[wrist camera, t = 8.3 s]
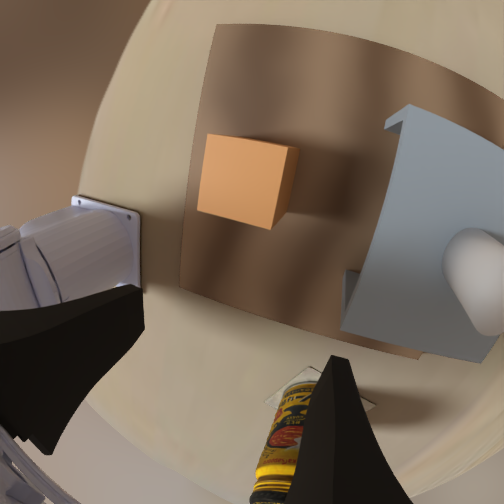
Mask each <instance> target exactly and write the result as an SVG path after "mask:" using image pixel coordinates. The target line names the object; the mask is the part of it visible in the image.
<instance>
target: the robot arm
mask: <svg viewBox="0 0 504 504" xmlns="http://www.w3.org/2000/svg"><path fill="white" fill-rule="evenodd" d="M130 216H131V218H130ZM114 286H117V287H115V288H113V287H114ZM111 288H112V289H111ZM144 330H145V325H144V310H143V289H142V288H140V216H139V214H138V213H137V212H134V211H131V210H127V209H124V208H120V207H117V206H113V205H109V204H106V203H102V202H99V201H95V200H92V199H88V198H85V197H81V196H77V195H75V196H73V197H72V206H69V207H66V208H63V209H60V210H57V211H54V212H51V213H49V214H46V215H43V216H40V217H38V218H35V219H32V220H30V221H28V222H26V223H25V224H24V225H23V226H22V227H21V228H20V229H15V227H13V226H12V225H8V226H4V227H1V228H0V504H46V503H45V502H44V500H45V496H46V497H47V498H49V499H50V500H51V501H52V502H53V503H54V504H81V503H79V502H78V501H77V500H75V499H74V498H73V497H71V496H70V495H69V494H68V493H67V492H66V491H64V490H63V489H62V488H61V487H60V486H59V485H57V484H56V483H55V482H54V481H53V480H52V479H51V478H50V477H49V476H47V475H46V474H45V473H44V472H43V471H42V470H41V469H40V468H39V467H38V466H37V465H36V464H35V463H34V462H33V461H32V460H31V459H30V458H29V457H28V456H27V454H25V452H24V451H23V450H22V449H21V448H20V447H19V445H18V444H17V443H16V442H15V441H14V440H13V439H14V438H15V437H16V436H18V437H19V438H20V439H21V440H22V441H23V442H25V441H26V440H27V439H29V440H30V441H31V442H32V443H33V444H34V445H35V446H36V447H37V448H38V449H39V450H40V451H41V452H42V453H43V454H44V455H52V454H53V451H54V449H55V446H56V445H57V442H58V440H59V439H60V436H61V434H62V433H63V431H64V429H65V427H66V426H67V424H68V422H69V420H70V419H71V417H72V416H73V414H74V413H75V411H76V410H77V408H78V407H79V405H80V404H81V402H82V401H83V400H84V398H85V397H86V396H87V394H88V393H89V392H90V390H91V389H92V388H93V387H94V385H95V384H96V383H97V382H98V381H99V380H100V379H101V378H102V377H103V376H104V375H105V374H106V373H107V372H108V371H109V370H110V369H111V368H112V367H113V366H114V365H115V364H116V363H117V362H118V361H119V360H120V359H121V358H122V357H123V356H124V355H125V354H126V353H127V352H128V351H129V349H130V348H131V347H132V346H133V345H134V343H135V342H136V341H137V339H138V338H139V337H140V335H141V334H142V332H143V331H144ZM12 461H13V463H14V464H15V465H16V466H17V467H18V468H19V469H20V471H21V472H22V473H23V474H24V475H23V474H22V473H21V472H20V471H19V470H18V469H16V468H15V467H14V466H13V465H12ZM42 493H43V494H44V495H45V496H44V495H43V494H42ZM284 504H413V503H412V501H411V500H410V499H409V497H408V496H407V494H406V493H405V491H404V490H403V488H402V486H401V485H400V483H399V482H398V480H397V479H396V477H395V476H394V474H393V472H392V470H391V468H390V467H389V465H388V463H387V461H386V459H385V457H384V455H383V453H382V451H381V449H380V447H379V445H378V442H377V440H376V438H375V435H374V433H373V431H372V428H371V426H370V423H369V420H368V418H367V415H366V412H365V409H364V407H363V404H362V401H361V398H360V395H359V392H358V389H357V385H356V382H355V379H354V376H353V372H352V369H351V365H350V362H349V360H348V359H345V358H341V357H337V356H333V355H331V356H330V358H329V360H328V362H327V364H326V366H325V368H324V370H323V372H322V374H321V376H320V378H319V380H318V382H317V384H316V385H315V387H314V389H313V391H312V394H311V397H310V401H309V404H308V408H307V412H306V415H305V420H304V426H303V432H302V437H301V443H300V448H299V453H298V458H297V463H296V468H295V472H294V476H293V479H292V482H291V485H290V488H289V490H288V493H287V496H286V498H285V501H284Z"/></svg>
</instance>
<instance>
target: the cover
mask: <svg viewBox="0 0 504 504" xmlns="http://www.w3.org/2000/svg"><path fill="white" fill-rule="evenodd" d="M384 130H387V131H390V132H393V133H395V134H398V135H400V139H399V144H398V148H397V153H396V157H395V162H394V166H393V170H392V174H391V178H390V182H389V186H388V189H387V193H386V197H385V200H384V204H383V207H382V210H381V214H380V217H379V220H378V224H377V227H376V230H375V233H374V236H373V239H372V242H371V245H370V248H369V251H368V254H367V257H366V260H365V262H364V265H363V268H362V271H361V273H360V274H359V273H356V272H352V271H349V270H346V269H345V272H344V275H343V280H342V305H341V322H340V330H341V331H345V332H349V333H352V334H356V335H360V336H363V337H367V338H371V339H375V340H378V341H382V342H386V343H390V344H394V345H398V346H402V347H406V348H410V349H415V350H419V351H423V352H427V353H432V354H436V355H441V356H446V357H450V358H455V359H460V360H465V361H470V362H475V363H480V364H481V363H482V361H483V360H484V359H485V357H486V356H487V354H488V353H489V351H490V350H491V348H492V347H493V345H494V344H495V342H496V341H497V339H498V337H499V336H500V334H501V333H504V150H503V149H501V148H500V147H498V146H496V145H495V144H493V143H491V142H490V141H488V140H486V139H484V138H483V137H481V136H479V135H477V134H475V133H473V132H471V131H469V130H468V129H466V128H464V127H462V126H460V125H457V124H455V123H453V122H451V121H449V120H447V119H445V118H442V117H440V116H438V115H436V114H433V113H431V112H428V111H426V110H423V109H421V108H418V107H416V106H413V105H411V104H408V105H407V106H405V107H404V108H402V109H401V110H399V111H398V112H397V113H395V114H394V115H392V116H391V117H389V118H388V119H387V120H386V122H385V127H384Z"/></svg>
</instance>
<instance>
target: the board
mask: <svg viewBox="0 0 504 504" xmlns="http://www.w3.org/2000/svg"><path fill="white" fill-rule="evenodd" d="M408 104H411V105H413V106H416V107H418V108H421V109H423V110H426V111H428V112H431V113H433V114H436V115H438V116H440V117H442V118H445V119H447V120H449V121H451V122H453V123H455V124H457V125H460V126H462V127H464V128H466V129H468V130H469V131H471V132H473V133H475V134H477V135H479V136H481V137H483V138H484V139H486V140H488V141H490V142H491V143H493V144H495V145H496V146H498V147H500V148H501V149H503V146H504V100H503V99H502V98H500V97H499V96H497V95H495V94H494V93H492V92H490V91H489V90H487V89H485V88H484V87H482V86H480V85H478V84H477V83H475V82H473V81H471V80H469V79H467V78H465V77H464V76H462V75H460V74H458V73H456V72H453V71H451V70H449V69H447V68H445V67H443V66H440V65H438V64H436V63H434V62H431V61H429V60H426V59H424V58H421V57H419V56H416V55H413V54H411V53H408V52H405V51H402V50H399V49H396V48H393V47H390V46H387V45H383V44H380V43H376V42H373V41H369V40H365V39H361V38H357V37H353V36H348V35H343V34H339V33H333V32H328V31H322V30H315V29H308V28H301V27H291V26H280V25H265V24H217V25H216V29H215V33H214V37H213V41H212V45H211V50H210V54H209V59H208V63H207V68H206V73H205V77H204V82H203V87H202V93H201V98H200V103H199V109H198V115H197V121H196V127H195V133H194V140H193V146H192V153H191V161H190V168H189V176H188V184H187V193H186V202H185V212H184V222H183V233H182V246H181V260H180V277H179V287H180V288H183V289H185V290H188V291H191V292H193V293H196V294H199V295H201V296H204V297H207V298H210V299H212V300H215V301H218V302H221V303H224V304H226V305H229V306H232V307H235V308H238V309H241V310H244V311H247V312H250V313H253V314H256V315H259V316H262V317H265V318H268V319H271V320H274V321H277V322H280V323H283V324H286V325H290V326H293V327H296V328H299V329H303V330H306V331H309V332H313V333H316V334H319V335H323V336H326V337H330V338H333V339H337V340H341V341H344V342H348V343H352V344H355V345H359V346H363V347H367V348H371V349H374V350H378V351H382V352H387V353H391V354H395V355H399V356H403V357H408V358H412V359H417V360H418V359H419V358H420V356H421V355H422V353H423V351H419V350H415V349H410V348H406V347H402V346H398V345H394V344H390V343H386V342H382V341H378V340H375V339H371V338H367V337H363V336H360V335H356V334H352V333H349V332H345V331H341V330H340V322H341V305H342V280H343V275H344V272H345V269H346V270H349V271H352V272H356V273H359V274H360V273H361V271H362V268H363V265H364V262H365V260H366V257H367V254H368V251H369V248H370V245H371V242H372V239H373V236H374V233H375V230H376V227H377V224H378V220H379V217H380V214H381V210H382V207H383V204H384V200H385V197H386V193H387V189H388V186H389V182H390V178H391V174H392V170H393V166H394V162H395V157H396V153H397V148H398V144H399V139H400V135H398V134H395V133H393V132H390V131H387V130H384V127H385V122H386V120H387V119H388V118H389V117H391V116H392V115H394V114H395V113H397V112H398V111H399V110H401V109H402V108H404V107H405V106H407V105H408ZM207 134H218V135H229V136H238V137H244V138H250V139H256V140H261V141H266V142H272V143H277V144H281V145H286V146H291V147H295V148H300V153H299V157H298V162H297V167H296V172H295V176H294V181H293V186H292V190H291V195H290V199H289V204H288V208H287V212H286V214H285V215H284V216H283V217H282V218H281V219H280V220H279V221H278V223H277V224H276V225H275V226H274V227H273V228H272V229H271V230H269V229H265V228H261V227H258V226H254V225H251V224H247V223H243V222H239V221H236V220H232V219H228V218H225V217H221V216H217V215H213V214H209V213H206V212H202V211H198V210H197V205H198V197H199V189H200V181H201V174H202V167H203V160H204V153H205V147H206V140H207Z"/></svg>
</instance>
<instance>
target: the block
mask: <svg viewBox="0 0 504 504" xmlns="http://www.w3.org/2000/svg"><path fill="white" fill-rule="evenodd" d="M299 153H300V148H295V147H291V146H286V145H281V144H277V143H272V142H266V141H261V140H256V139H250V138H244V137H238V136H229V135H218V134H207V140H206V147H205V153H204V160H203V167H202V174H201V181H200V189H199V197H198V205H197V210H198V211H202V212H206V213H209V214H213V215H217V216H221V217H225V218H228V219H232V220H236V221H239V222H243V223H247V224H251V225H254V226H258V227H261V228H265V229H269V230H271V229H272V228H273V227H274V226H275V225H276V224H277V223H278V221H279V220H280V219H281V218H282V217H283V216H284V215H285V214H286V212H287V208H288V204H289V199H290V195H291V190H292V186H293V181H294V176H295V172H296V167H297V162H298V157H299Z"/></svg>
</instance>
